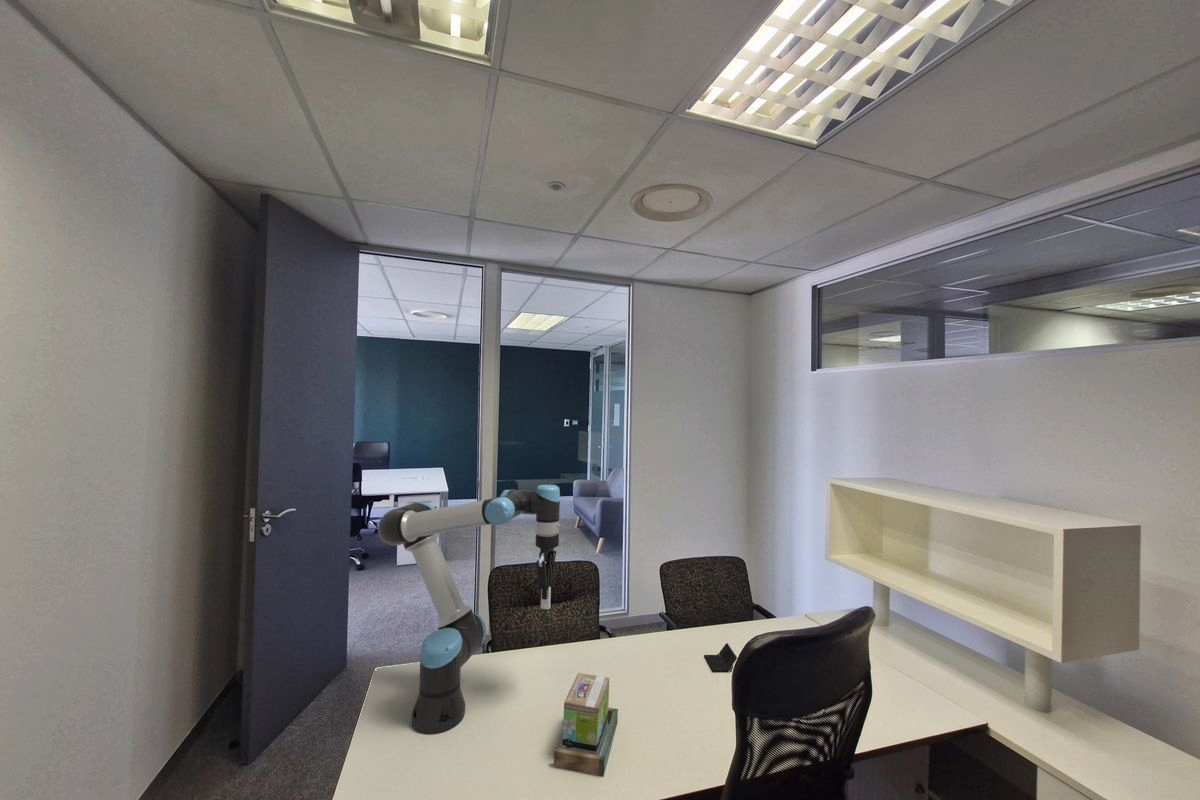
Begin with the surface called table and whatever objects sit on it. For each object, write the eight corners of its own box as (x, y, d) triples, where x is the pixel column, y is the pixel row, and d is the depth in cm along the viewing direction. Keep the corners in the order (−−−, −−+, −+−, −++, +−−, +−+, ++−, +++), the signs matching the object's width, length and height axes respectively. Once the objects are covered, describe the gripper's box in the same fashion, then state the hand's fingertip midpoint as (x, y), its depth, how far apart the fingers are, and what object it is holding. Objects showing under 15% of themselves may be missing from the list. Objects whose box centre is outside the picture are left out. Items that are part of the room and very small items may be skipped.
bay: (553, 767, 114) (554, 750, 115) (574, 715, 135) (575, 702, 135) (603, 776, 112) (603, 760, 112) (617, 722, 132) (617, 709, 132)
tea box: (597, 766, 115) (598, 707, 116) (560, 759, 117) (562, 701, 118) (608, 727, 130) (609, 675, 130) (575, 722, 132) (576, 671, 133)
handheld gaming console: (698, 653, 170) (715, 632, 170) (711, 662, 171) (728, 642, 172) (712, 674, 159) (729, 652, 159) (725, 684, 160) (743, 662, 161)
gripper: (552, 539, 136) (550, 618, 135) (564, 529, 149) (562, 601, 148) (529, 537, 138) (526, 615, 137) (543, 528, 150) (541, 599, 149)
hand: (545, 608), depth 142 cm, fingers closed
